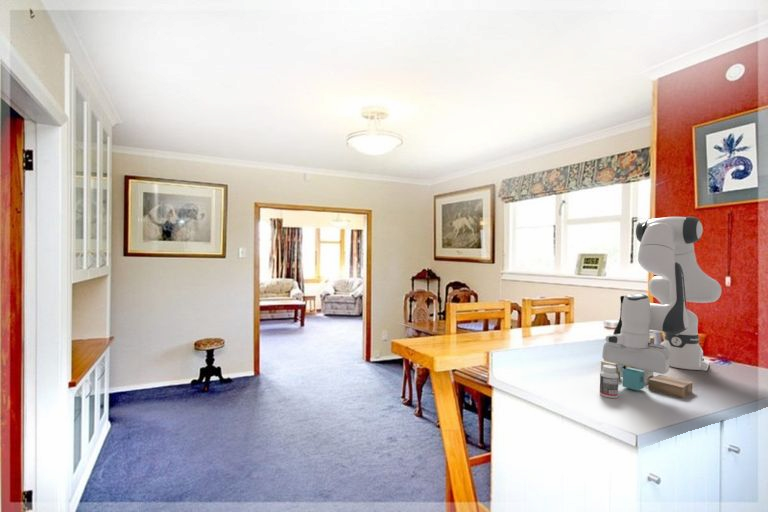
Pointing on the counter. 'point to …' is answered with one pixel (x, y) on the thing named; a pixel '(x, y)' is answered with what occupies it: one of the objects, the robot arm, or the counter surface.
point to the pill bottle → (609, 382)
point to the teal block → (633, 378)
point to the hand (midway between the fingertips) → (633, 379)
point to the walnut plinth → (670, 386)
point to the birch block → (610, 364)
